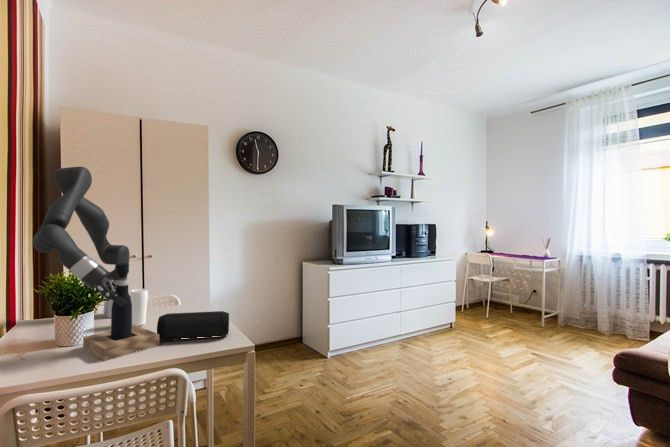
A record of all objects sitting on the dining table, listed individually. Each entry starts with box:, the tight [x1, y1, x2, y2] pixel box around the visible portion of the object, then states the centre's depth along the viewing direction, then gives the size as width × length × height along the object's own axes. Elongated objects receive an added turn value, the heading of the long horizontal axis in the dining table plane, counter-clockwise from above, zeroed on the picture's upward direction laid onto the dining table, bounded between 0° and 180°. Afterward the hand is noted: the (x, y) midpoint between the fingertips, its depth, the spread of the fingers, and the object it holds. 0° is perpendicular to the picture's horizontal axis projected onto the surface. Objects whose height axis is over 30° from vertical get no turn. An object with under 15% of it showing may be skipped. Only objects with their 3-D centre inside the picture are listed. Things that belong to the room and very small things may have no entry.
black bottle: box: [110, 263, 133, 341], centre depth 127 cm, size 6×6×30 cm
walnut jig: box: [82, 325, 160, 362], centre depth 128 cm, size 18×18×4 cm
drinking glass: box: [129, 288, 149, 326], centre depth 153 cm, size 7×7×15 cm
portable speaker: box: [156, 310, 230, 341], centre depth 139 cm, size 26×10×10 cm, turn 105°
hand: (126, 302), depth 128 cm, fingers open, 8 cm apart
